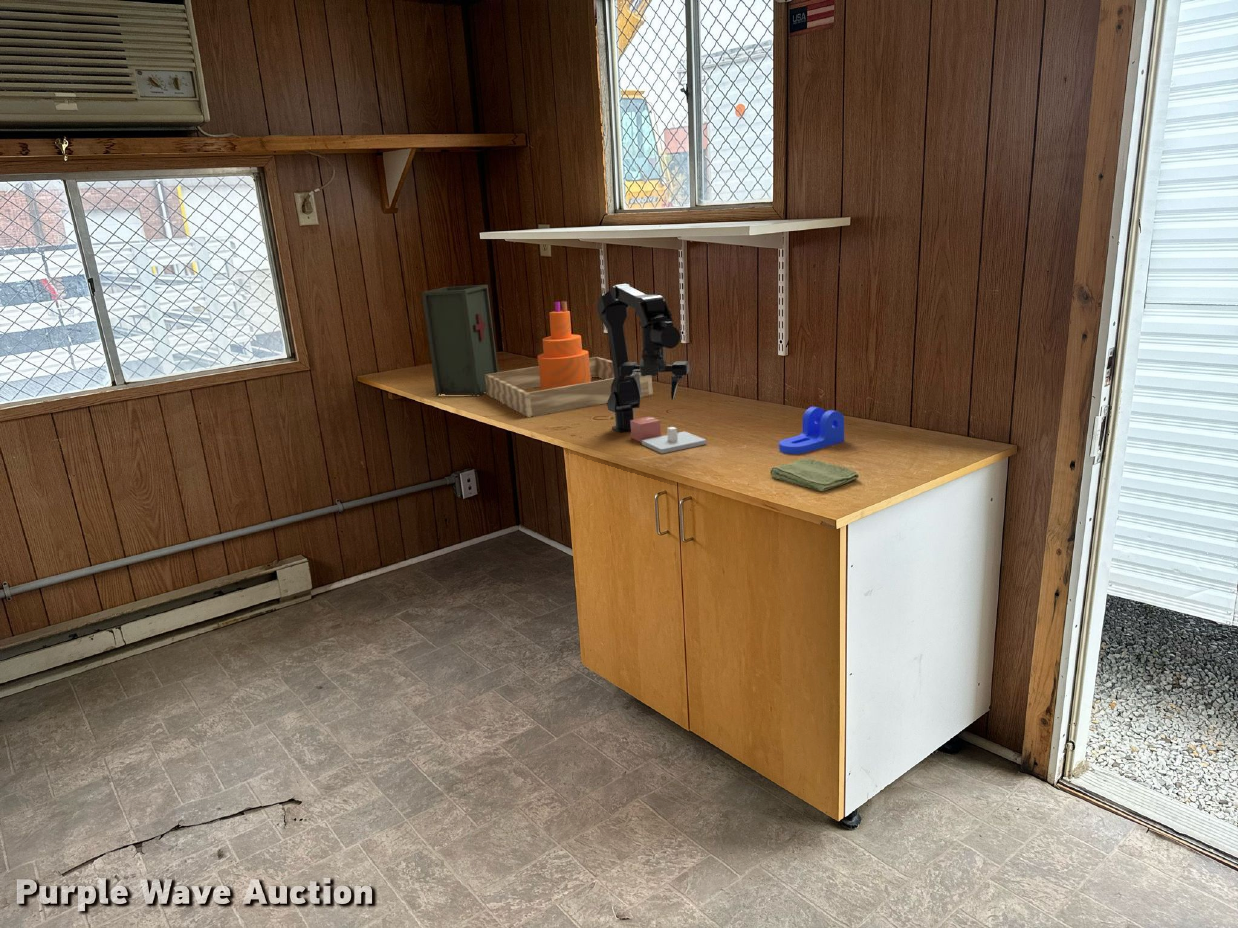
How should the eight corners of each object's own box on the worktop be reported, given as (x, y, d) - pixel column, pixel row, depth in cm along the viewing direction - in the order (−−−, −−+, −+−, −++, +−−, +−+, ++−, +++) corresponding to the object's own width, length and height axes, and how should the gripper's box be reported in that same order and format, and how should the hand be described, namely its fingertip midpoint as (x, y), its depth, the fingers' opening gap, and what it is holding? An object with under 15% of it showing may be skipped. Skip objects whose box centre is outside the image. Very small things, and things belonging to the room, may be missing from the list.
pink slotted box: (631, 437, 244) (630, 419, 242) (651, 434, 246) (649, 415, 245) (641, 442, 238) (640, 423, 237) (661, 438, 241) (660, 419, 239)
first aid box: (479, 396, 320) (465, 290, 308) (436, 396, 325) (421, 292, 314) (500, 385, 336) (487, 284, 325) (459, 386, 342) (445, 287, 331)
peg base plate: (641, 444, 236) (640, 428, 235) (684, 435, 242) (684, 419, 240) (661, 453, 226) (660, 436, 225) (706, 444, 231) (705, 427, 230)
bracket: (821, 436, 230) (820, 404, 228) (844, 441, 224) (844, 409, 221) (772, 450, 221) (771, 417, 219) (795, 456, 215) (794, 422, 212)
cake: (533, 401, 300) (535, 302, 291) (540, 392, 318) (541, 298, 309) (590, 404, 300) (593, 305, 290) (593, 394, 318) (596, 300, 309)
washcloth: (823, 496, 186) (823, 482, 185) (766, 479, 200) (766, 466, 199) (862, 481, 193) (862, 468, 192) (805, 466, 207) (805, 454, 206)
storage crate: (487, 395, 320) (484, 374, 318) (599, 376, 339) (597, 356, 336) (528, 417, 279) (525, 394, 277) (652, 394, 298) (651, 372, 295)
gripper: (612, 349, 222) (616, 406, 227) (681, 348, 217) (684, 406, 222) (622, 341, 232) (626, 396, 237) (689, 340, 227) (691, 396, 232)
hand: (656, 399), depth 232 cm, fingers open, 9 cm apart
